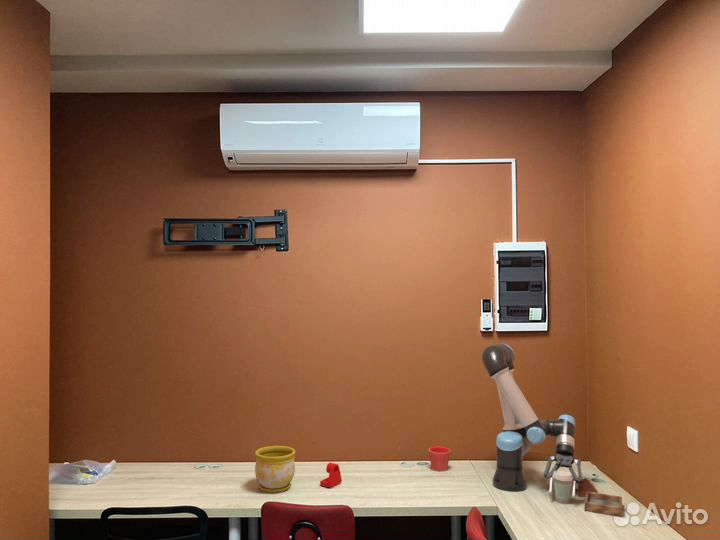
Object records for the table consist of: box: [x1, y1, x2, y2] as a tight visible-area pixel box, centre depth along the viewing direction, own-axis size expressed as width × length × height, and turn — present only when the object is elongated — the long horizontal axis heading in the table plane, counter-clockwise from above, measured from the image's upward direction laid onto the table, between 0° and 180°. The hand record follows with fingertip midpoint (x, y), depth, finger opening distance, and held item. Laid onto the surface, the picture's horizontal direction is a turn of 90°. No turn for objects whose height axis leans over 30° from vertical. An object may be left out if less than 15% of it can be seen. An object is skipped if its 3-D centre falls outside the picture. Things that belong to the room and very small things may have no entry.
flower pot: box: [428, 446, 451, 472], centre depth 277 cm, size 11×11×10 cm
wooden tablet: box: [572, 477, 599, 498], centre depth 252 cm, size 27×10×2 cm, turn 168°
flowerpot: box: [254, 445, 296, 494], centre depth 248 cm, size 18×18×16 cm
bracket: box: [319, 462, 343, 489], centre depth 253 cm, size 9×6×10 cm
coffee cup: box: [552, 469, 573, 505], centre depth 236 cm, size 8×9×12 cm
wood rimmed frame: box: [583, 491, 623, 518], centre depth 229 cm, size 14×14×4 cm
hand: (562, 495), depth 233 cm, fingers closed on coffee cup, 8 cm apart
